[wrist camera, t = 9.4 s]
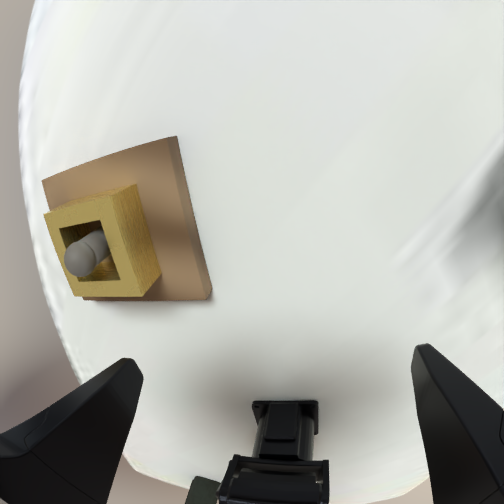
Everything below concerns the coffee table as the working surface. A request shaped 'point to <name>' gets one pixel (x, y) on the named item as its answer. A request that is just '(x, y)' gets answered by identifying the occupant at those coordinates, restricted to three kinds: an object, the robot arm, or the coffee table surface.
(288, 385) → the coffee table surface
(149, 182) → the brown base plate
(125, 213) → the brass square frame
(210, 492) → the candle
